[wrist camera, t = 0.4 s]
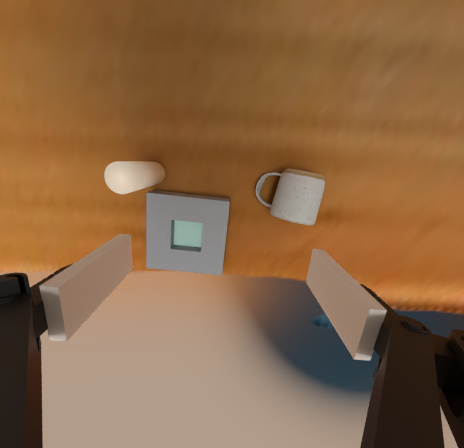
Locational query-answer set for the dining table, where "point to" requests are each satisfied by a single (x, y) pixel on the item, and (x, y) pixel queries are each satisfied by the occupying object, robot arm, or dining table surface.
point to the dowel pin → (133, 175)
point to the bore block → (186, 232)
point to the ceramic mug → (295, 195)
